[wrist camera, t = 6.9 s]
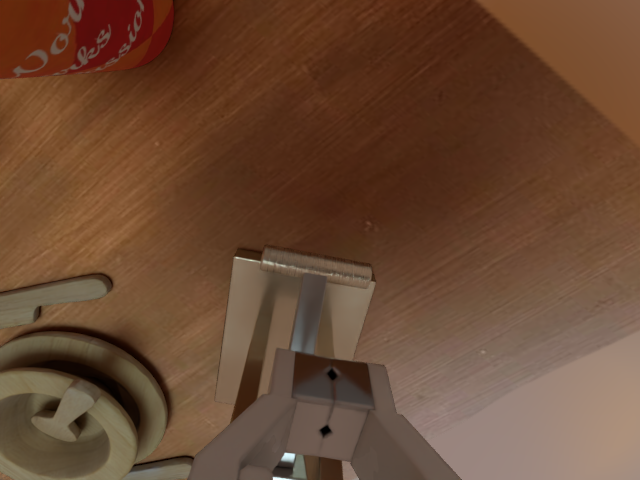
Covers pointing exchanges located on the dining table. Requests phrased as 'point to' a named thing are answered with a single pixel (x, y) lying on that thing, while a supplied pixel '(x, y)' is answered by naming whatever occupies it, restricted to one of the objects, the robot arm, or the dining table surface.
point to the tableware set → (76, 398)
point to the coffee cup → (81, 35)
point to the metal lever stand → (280, 336)
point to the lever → (309, 311)
